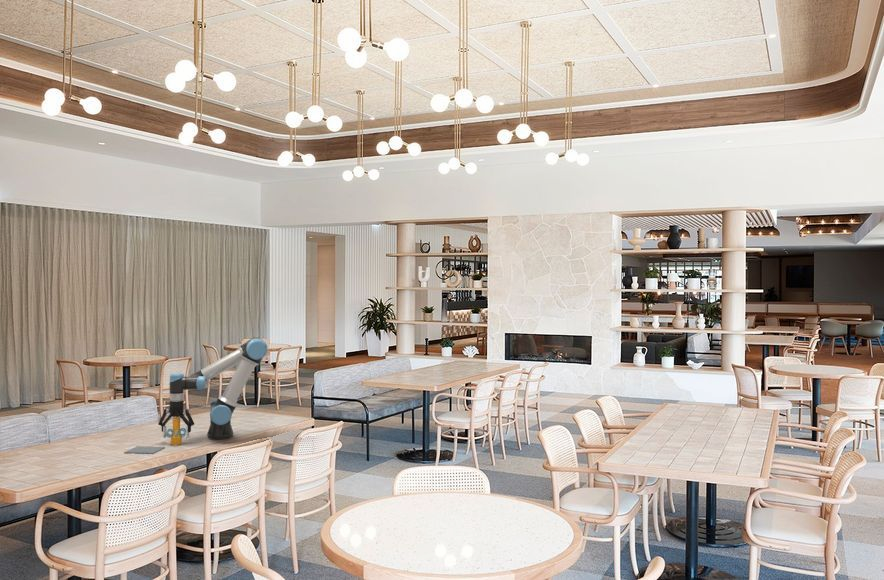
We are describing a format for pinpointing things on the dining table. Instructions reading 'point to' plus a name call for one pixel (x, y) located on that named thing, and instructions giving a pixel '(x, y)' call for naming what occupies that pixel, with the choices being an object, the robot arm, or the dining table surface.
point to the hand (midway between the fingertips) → (176, 437)
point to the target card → (144, 450)
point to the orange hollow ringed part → (176, 432)
